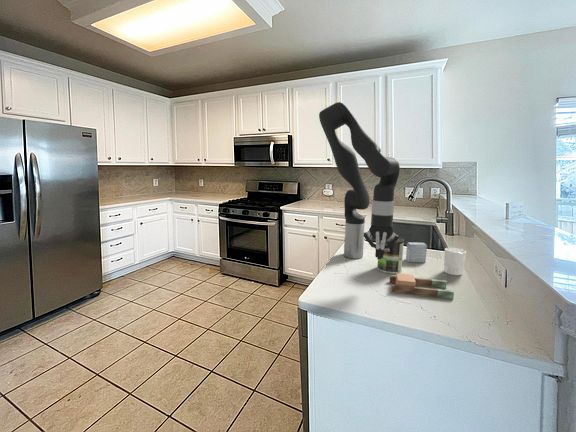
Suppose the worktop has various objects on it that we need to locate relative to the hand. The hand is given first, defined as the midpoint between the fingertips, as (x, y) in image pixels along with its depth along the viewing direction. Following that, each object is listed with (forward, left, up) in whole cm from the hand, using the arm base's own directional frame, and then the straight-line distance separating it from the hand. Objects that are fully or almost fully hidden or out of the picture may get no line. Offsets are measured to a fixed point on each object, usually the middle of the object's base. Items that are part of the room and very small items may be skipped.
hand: (379, 258), depth 107 cm
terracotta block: (+10, 0, -11) cm, 15 cm away
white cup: (+32, +22, -11) cm, 40 cm away
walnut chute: (+15, 0, -11) cm, 18 cm away
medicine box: (+19, +34, -11) cm, 41 cm away
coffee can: (+6, +19, -11) cm, 23 cm away
